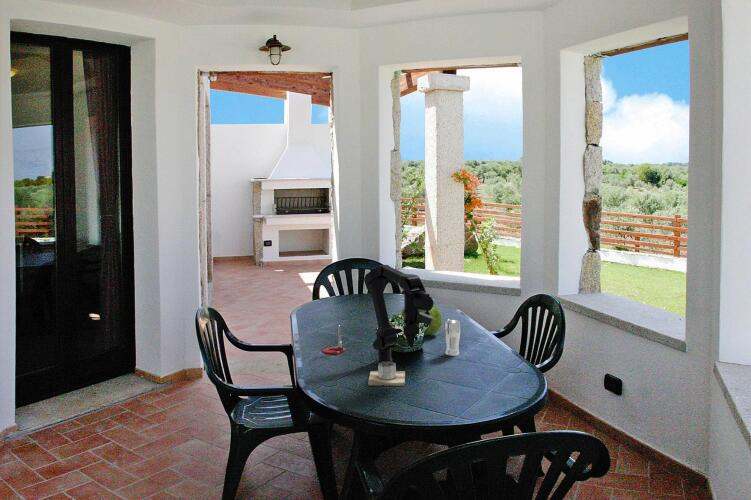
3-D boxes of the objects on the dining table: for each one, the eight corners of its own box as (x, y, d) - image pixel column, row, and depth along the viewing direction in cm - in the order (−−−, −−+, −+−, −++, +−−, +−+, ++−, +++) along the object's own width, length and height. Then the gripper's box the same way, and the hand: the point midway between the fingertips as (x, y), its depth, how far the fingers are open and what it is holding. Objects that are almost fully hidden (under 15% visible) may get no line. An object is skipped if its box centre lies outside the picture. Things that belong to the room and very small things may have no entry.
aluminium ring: (379, 373, 244) (378, 361, 244) (395, 373, 244) (395, 361, 243) (377, 379, 238) (377, 367, 237) (395, 379, 237) (395, 367, 236)
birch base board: (370, 373, 248) (370, 370, 248) (404, 373, 247) (404, 370, 247) (368, 385, 234) (368, 382, 234) (404, 385, 233) (404, 382, 233)
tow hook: (320, 353, 278) (337, 355, 273) (318, 326, 276) (335, 327, 272) (330, 349, 285) (347, 350, 280) (328, 322, 284) (345, 323, 279)
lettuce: (410, 310, 323) (391, 296, 310) (449, 307, 309) (430, 292, 296) (404, 342, 315) (384, 329, 302) (444, 341, 301) (425, 327, 288)
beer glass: (463, 355, 271) (463, 322, 269) (449, 357, 268) (449, 323, 266) (455, 350, 277) (455, 318, 275) (441, 352, 275) (441, 320, 273)
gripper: (432, 312, 235) (432, 351, 237) (431, 301, 253) (431, 338, 255) (403, 312, 235) (403, 351, 237) (404, 301, 254) (404, 338, 256)
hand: (411, 344), depth 246 cm, fingers open, 9 cm apart
